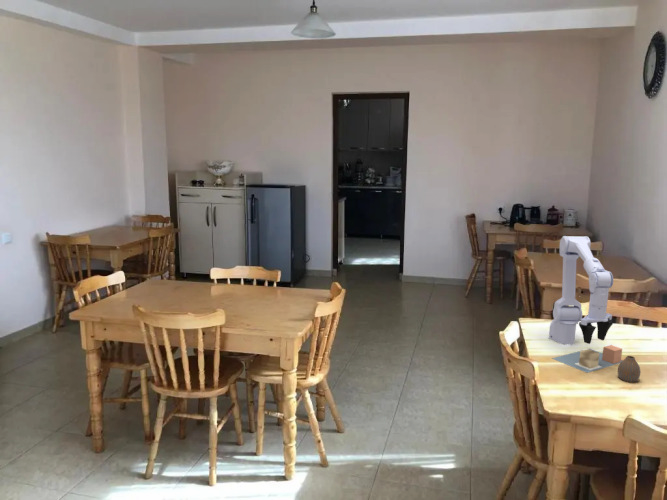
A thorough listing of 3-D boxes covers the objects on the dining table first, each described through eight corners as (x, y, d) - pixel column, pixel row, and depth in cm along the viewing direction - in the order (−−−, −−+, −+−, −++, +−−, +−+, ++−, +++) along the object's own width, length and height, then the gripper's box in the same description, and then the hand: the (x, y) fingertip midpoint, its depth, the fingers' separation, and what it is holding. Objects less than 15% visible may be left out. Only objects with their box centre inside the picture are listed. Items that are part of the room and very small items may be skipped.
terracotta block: (602, 359, 210) (603, 346, 209) (609, 357, 212) (611, 344, 211) (613, 363, 206) (614, 350, 205) (620, 361, 209) (622, 348, 208)
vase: (611, 378, 195) (614, 354, 194) (626, 375, 198) (629, 352, 196) (628, 386, 189) (631, 361, 187) (643, 383, 192) (647, 359, 190)
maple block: (578, 364, 205) (580, 351, 204) (586, 361, 207) (588, 349, 206) (589, 368, 201) (591, 355, 200) (597, 366, 203) (599, 353, 202)
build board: (551, 360, 211) (551, 357, 211) (589, 350, 222) (589, 348, 221) (586, 374, 198) (587, 372, 198) (625, 363, 209) (625, 361, 209)
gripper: (594, 310, 194) (590, 348, 196) (621, 305, 201) (616, 341, 203) (577, 305, 200) (573, 341, 202) (603, 300, 207) (599, 335, 209)
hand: (594, 341), depth 203 cm, fingers open, 7 cm apart
